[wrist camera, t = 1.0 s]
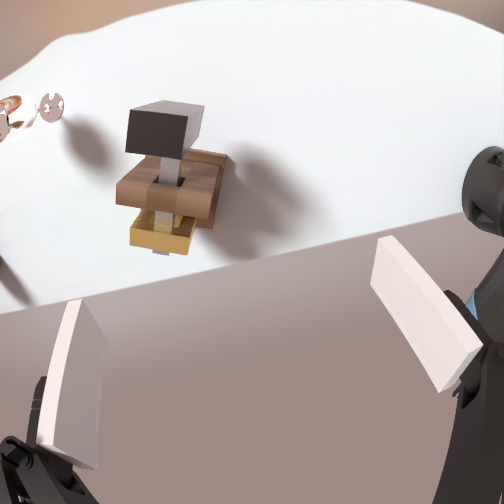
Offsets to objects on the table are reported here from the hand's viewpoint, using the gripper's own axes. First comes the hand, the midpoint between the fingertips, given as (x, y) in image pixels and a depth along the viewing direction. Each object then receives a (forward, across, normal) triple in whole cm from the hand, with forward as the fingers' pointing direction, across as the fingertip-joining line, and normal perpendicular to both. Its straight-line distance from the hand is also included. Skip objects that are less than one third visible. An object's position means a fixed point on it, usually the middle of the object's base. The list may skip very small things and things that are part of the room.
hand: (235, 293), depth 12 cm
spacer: (+22, +5, +7) cm, 24 cm away
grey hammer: (+19, +4, +2) cm, 20 cm away
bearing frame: (+28, +3, +5) cm, 29 cm away
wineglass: (+32, +20, -9) cm, 39 cm away
